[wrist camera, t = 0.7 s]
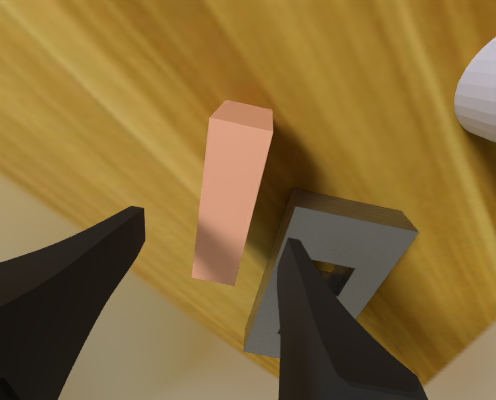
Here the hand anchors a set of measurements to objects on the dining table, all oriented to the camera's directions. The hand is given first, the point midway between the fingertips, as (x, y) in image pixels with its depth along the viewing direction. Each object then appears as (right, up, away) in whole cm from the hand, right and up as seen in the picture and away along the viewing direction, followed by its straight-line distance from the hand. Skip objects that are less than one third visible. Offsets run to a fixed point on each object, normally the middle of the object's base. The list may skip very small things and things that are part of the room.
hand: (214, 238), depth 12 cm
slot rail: (+8, -7, +15) cm, 19 cm away
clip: (+1, +5, +9) cm, 10 cm away
